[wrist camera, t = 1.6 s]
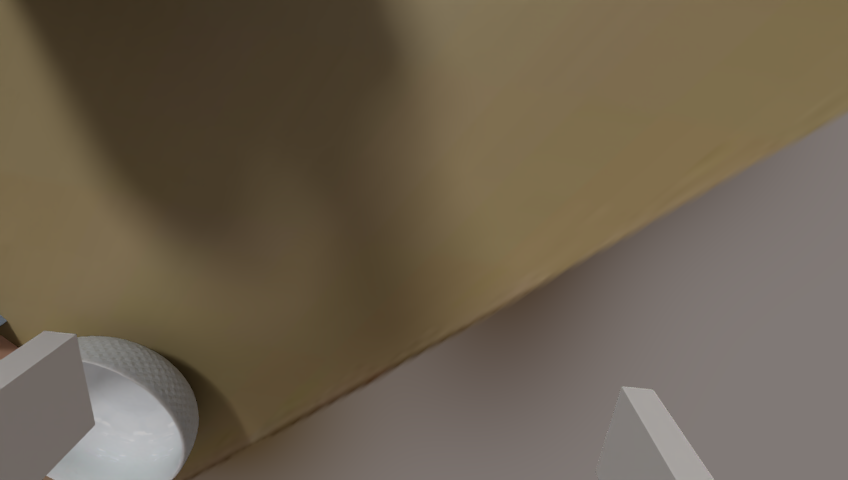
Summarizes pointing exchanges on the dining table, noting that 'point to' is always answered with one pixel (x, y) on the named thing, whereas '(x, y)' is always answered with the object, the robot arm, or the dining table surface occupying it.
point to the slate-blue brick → (2, 320)
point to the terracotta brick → (6, 347)
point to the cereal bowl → (131, 415)
